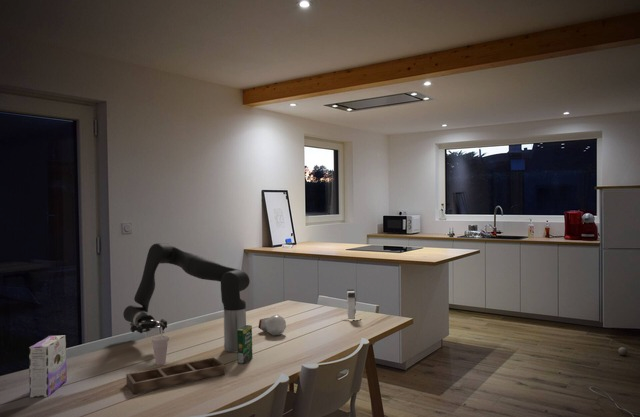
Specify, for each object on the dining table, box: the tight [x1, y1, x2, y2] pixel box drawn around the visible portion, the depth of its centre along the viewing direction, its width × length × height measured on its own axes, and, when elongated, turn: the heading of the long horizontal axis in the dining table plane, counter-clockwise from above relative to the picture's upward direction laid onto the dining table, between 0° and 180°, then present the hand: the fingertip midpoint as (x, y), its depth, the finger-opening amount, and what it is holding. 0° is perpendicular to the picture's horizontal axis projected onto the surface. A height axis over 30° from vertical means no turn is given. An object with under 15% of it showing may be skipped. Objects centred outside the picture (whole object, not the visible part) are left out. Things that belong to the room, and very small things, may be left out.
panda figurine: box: [346, 288, 357, 319], centre depth 252 cm, size 12×11×15 cm
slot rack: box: [125, 357, 226, 396], centre depth 165 cm, size 31×11×4 cm, turn 123°
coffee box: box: [237, 324, 253, 365], centre depth 184 cm, size 8×3×13 cm, turn 162°
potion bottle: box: [258, 314, 287, 336], centre depth 224 cm, size 9×10×15 cm
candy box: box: [28, 334, 68, 398], centre depth 158 cm, size 14×6×16 cm, turn 5°
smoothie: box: [151, 327, 170, 366], centre depth 184 cm, size 6×6×14 cm
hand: (152, 329), depth 193 cm, fingers open, 8 cm apart
